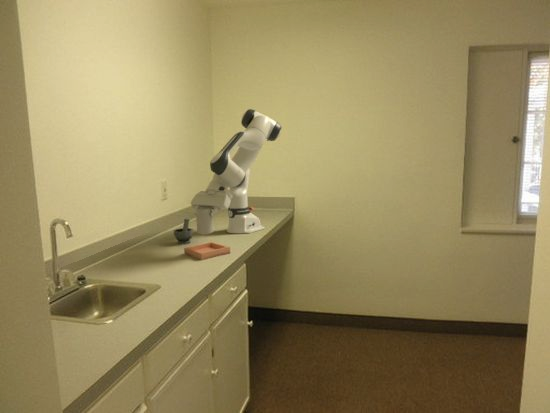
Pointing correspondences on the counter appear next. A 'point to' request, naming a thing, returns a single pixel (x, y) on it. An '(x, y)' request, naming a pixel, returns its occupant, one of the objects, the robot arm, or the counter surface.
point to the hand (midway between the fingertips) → (203, 215)
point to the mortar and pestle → (184, 233)
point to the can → (204, 220)
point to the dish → (206, 250)
